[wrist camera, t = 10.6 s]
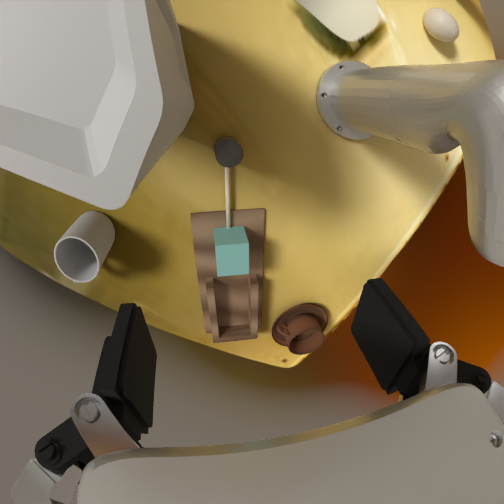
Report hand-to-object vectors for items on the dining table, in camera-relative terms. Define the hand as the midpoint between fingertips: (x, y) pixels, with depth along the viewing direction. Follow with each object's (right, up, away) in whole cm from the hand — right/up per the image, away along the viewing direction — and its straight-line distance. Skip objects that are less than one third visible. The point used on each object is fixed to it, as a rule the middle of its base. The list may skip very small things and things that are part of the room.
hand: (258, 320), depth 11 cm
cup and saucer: (+9, -11, +45) cm, 47 cm away
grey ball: (+32, +43, +16) cm, 56 cm away
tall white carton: (-15, +27, +17) cm, 35 cm away
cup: (-26, +5, +28) cm, 38 cm away
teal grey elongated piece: (-4, +10, +28) cm, 30 cm away
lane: (-4, -2, +36) cm, 36 cm away
